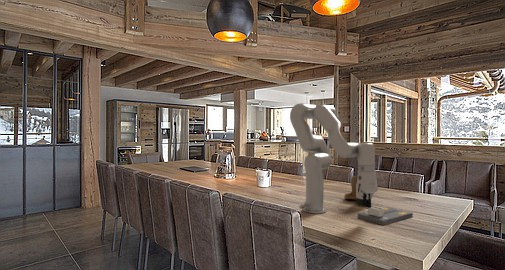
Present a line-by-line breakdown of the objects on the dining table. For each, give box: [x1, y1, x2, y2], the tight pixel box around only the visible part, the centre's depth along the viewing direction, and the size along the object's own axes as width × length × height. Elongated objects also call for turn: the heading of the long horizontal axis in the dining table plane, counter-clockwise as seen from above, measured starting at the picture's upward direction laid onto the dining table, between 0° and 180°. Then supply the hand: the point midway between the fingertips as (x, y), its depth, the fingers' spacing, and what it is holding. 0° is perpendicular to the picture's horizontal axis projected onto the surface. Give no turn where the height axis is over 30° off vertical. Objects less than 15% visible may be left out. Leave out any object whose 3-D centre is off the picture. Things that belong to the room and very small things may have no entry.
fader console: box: [357, 206, 413, 226], centre depth 151 cm, size 25×14×2 cm, turn 123°
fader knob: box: [367, 205, 384, 217], centre depth 147 cm, size 4×6×4 cm, turn 33°
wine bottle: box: [355, 174, 366, 207], centre depth 176 cm, size 8×8×30 cm
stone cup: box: [344, 175, 357, 201], centre depth 189 cm, size 15×12×15 cm
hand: (367, 207), depth 142 cm, fingers closed
